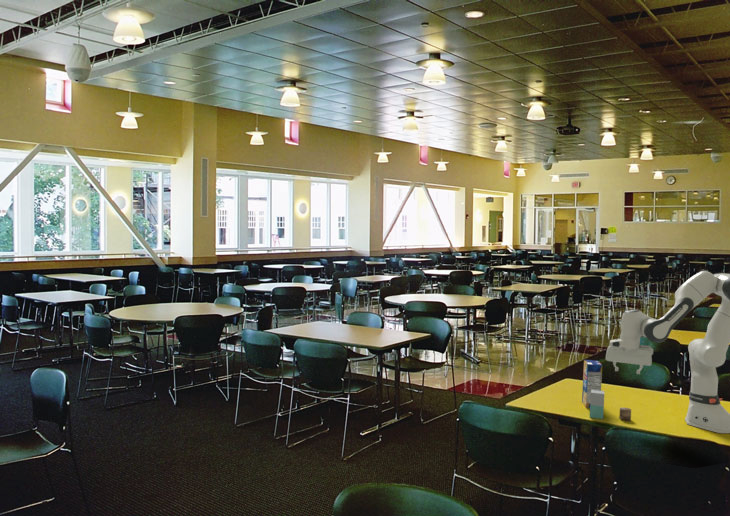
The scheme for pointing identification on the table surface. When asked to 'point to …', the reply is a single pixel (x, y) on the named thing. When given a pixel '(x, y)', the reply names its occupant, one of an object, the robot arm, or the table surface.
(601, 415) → the tower base
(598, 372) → the beverage box
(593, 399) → the tower top
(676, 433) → the table surface
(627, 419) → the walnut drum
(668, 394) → the table surface
